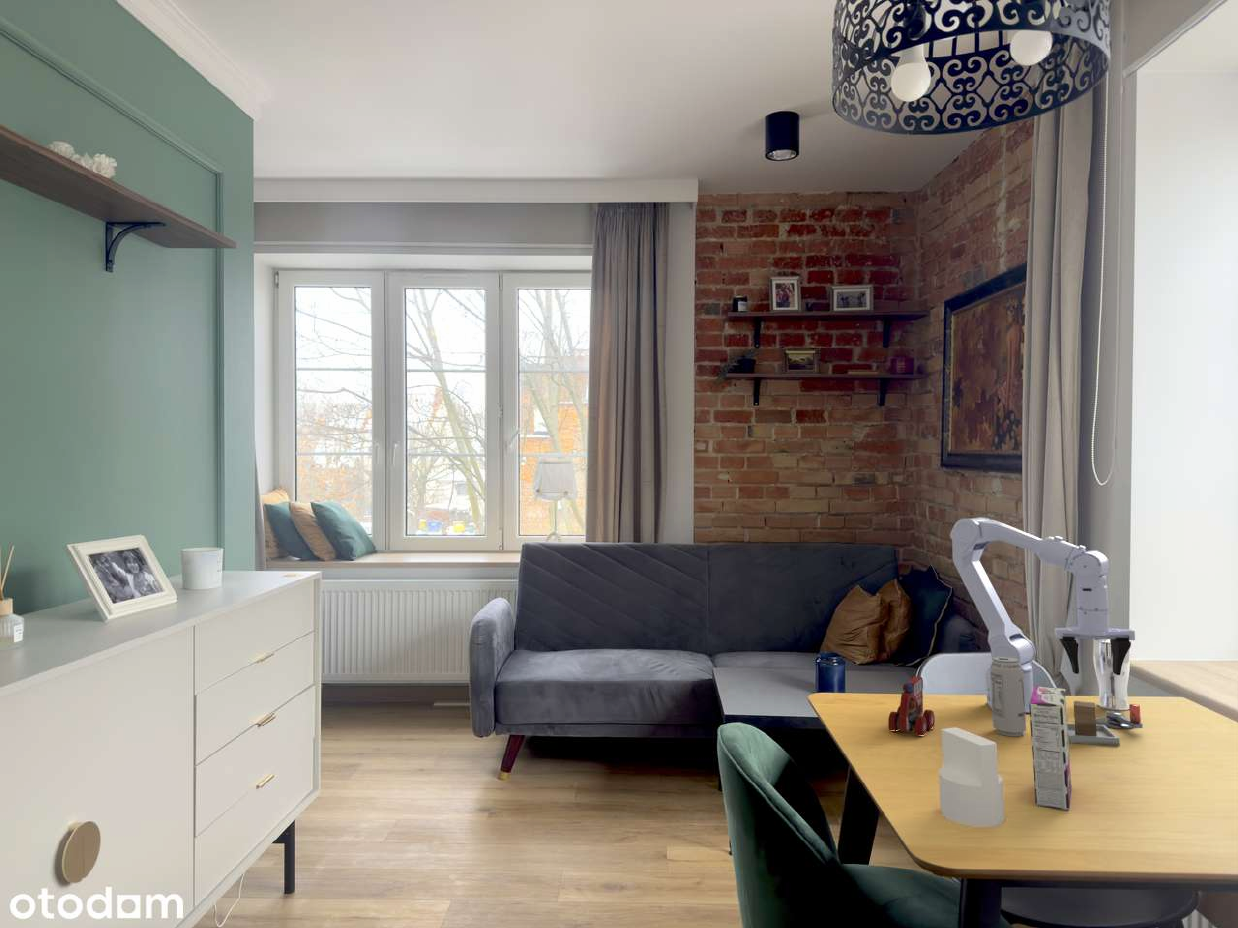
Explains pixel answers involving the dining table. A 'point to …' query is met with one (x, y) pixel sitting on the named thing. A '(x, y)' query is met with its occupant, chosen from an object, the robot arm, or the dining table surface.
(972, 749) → the base with upright slab
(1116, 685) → the beer glass
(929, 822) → the dining table surface
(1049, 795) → the candy bar box
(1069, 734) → the tray
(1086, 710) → the block
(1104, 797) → the dining table surface
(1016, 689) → the energy drink can
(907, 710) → the toy fire truck
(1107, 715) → the crank
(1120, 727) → the crank hub
